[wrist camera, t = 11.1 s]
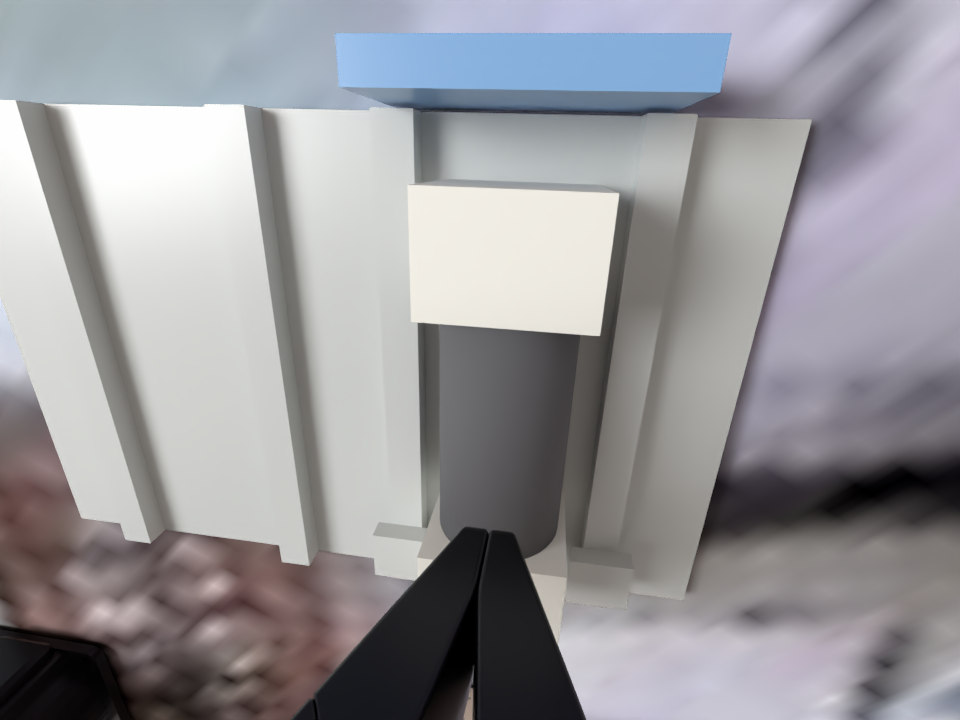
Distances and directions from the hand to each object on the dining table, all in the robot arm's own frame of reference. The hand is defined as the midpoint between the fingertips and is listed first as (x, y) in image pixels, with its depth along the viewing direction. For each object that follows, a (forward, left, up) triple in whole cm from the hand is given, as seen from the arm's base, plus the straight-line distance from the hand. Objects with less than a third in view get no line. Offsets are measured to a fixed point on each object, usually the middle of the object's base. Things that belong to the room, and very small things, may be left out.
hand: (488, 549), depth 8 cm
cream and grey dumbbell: (0, 0, -6) cm, 6 cm away
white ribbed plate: (0, +5, -7) cm, 8 cm away
